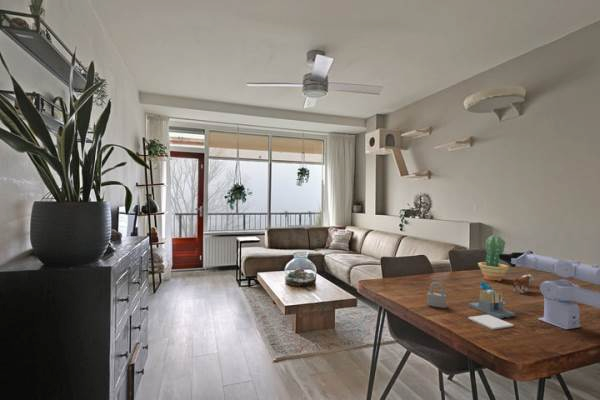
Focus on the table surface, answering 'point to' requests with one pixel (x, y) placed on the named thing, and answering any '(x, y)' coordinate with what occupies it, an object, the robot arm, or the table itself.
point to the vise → (492, 308)
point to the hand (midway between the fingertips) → (506, 255)
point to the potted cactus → (494, 259)
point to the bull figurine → (522, 282)
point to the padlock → (436, 297)
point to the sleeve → (491, 296)
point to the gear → (485, 287)
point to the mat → (490, 322)
